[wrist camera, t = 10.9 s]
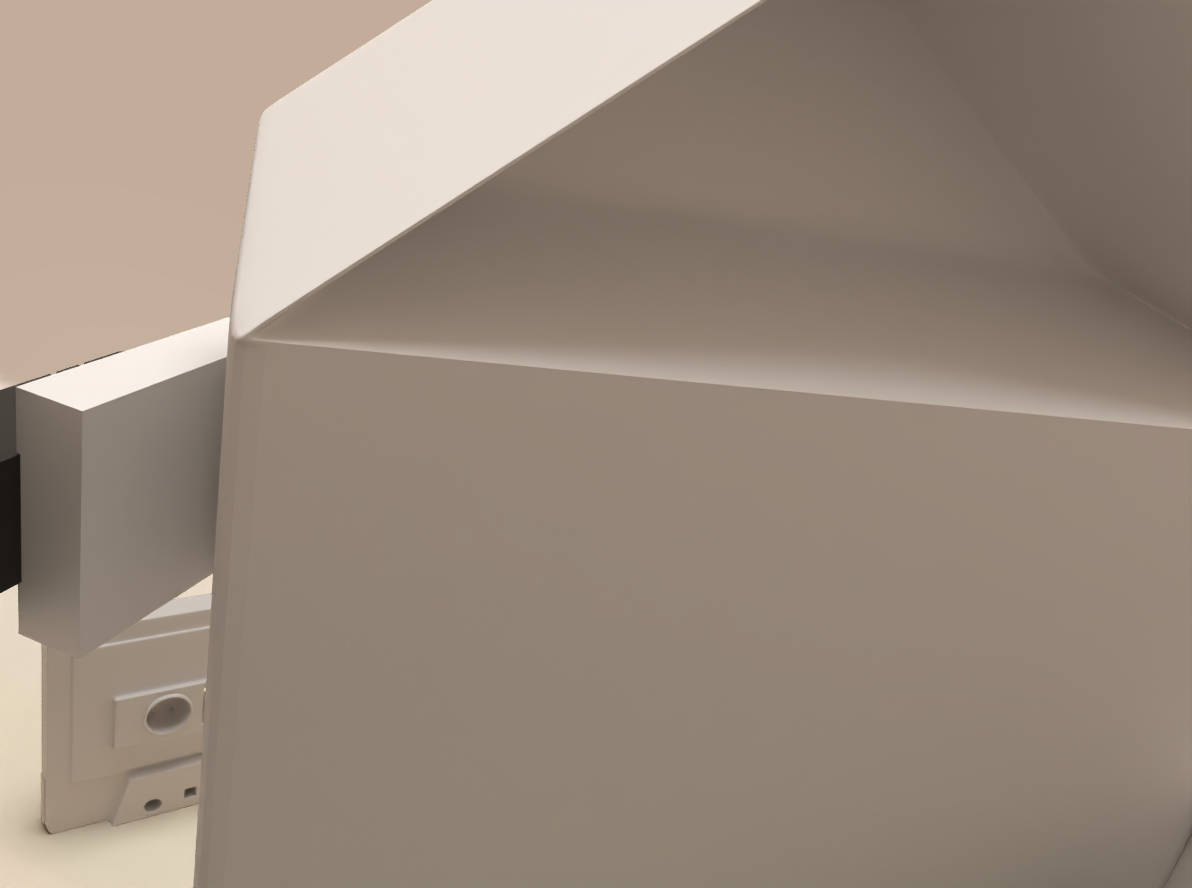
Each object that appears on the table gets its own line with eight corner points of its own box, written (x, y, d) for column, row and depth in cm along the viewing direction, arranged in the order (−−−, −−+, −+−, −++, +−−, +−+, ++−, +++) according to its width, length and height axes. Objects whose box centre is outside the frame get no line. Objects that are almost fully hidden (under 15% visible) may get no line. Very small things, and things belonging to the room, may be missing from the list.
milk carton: (132, 1819, 10) (300, -937, 3) (190, 1110, 17) (291, -363, 9) (797, 1624, 12) (1778, -284, 5) (627, 1062, 19) (977, -166, 12)
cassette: (47, 849, 34) (48, 646, 31) (36, 809, 35) (35, 610, 32) (399, 754, 41) (427, 581, 38) (378, 723, 42) (404, 554, 39)
